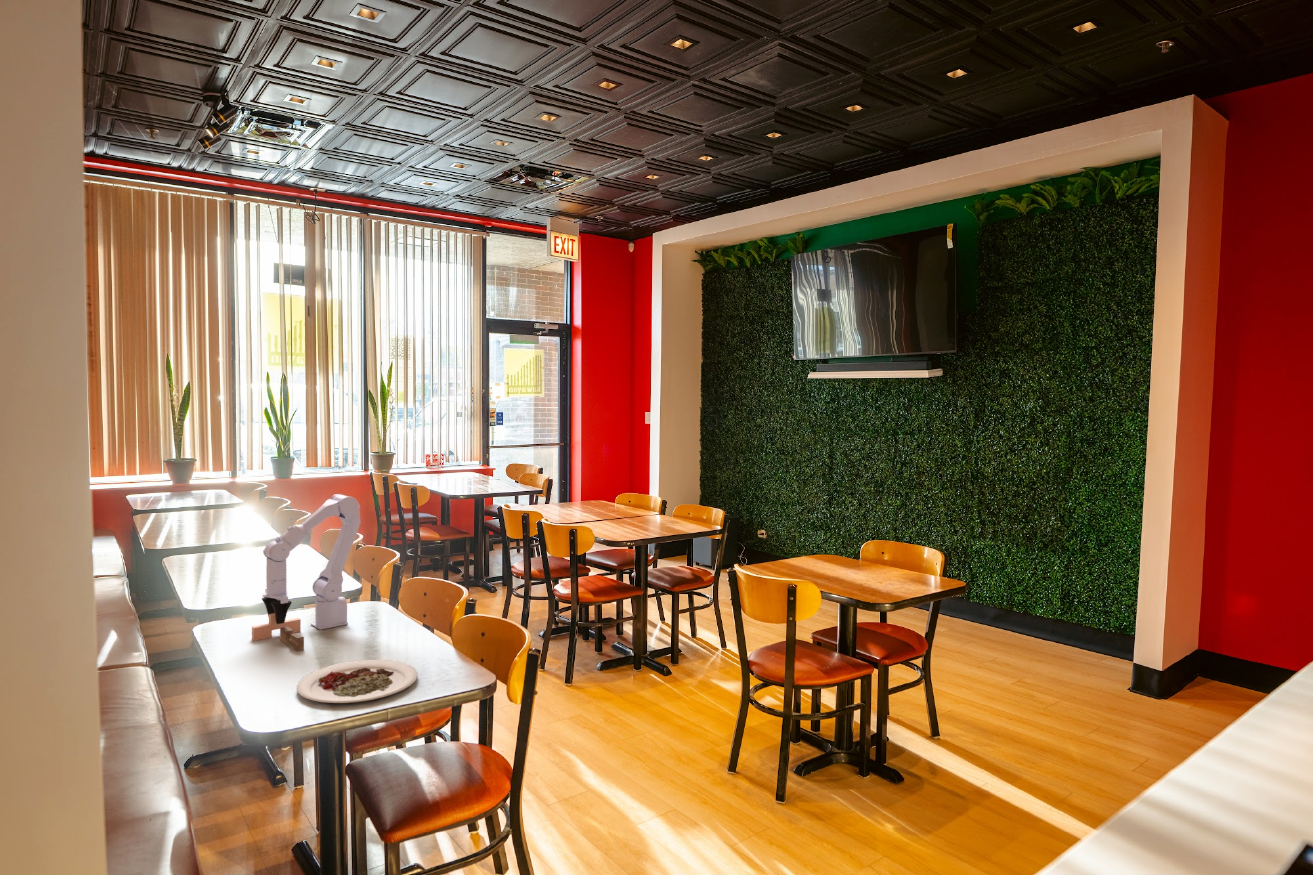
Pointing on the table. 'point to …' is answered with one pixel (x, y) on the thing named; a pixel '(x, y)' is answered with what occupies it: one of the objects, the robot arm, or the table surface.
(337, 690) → the plated food
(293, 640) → the walnut notched bar
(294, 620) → the salmon stepped block
